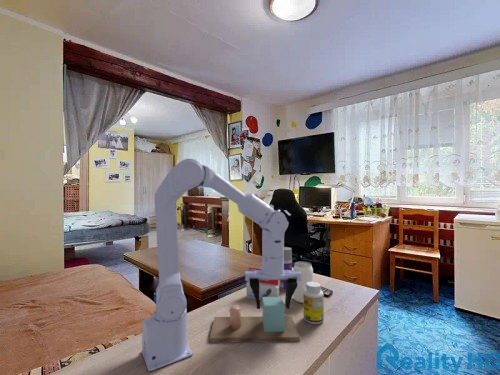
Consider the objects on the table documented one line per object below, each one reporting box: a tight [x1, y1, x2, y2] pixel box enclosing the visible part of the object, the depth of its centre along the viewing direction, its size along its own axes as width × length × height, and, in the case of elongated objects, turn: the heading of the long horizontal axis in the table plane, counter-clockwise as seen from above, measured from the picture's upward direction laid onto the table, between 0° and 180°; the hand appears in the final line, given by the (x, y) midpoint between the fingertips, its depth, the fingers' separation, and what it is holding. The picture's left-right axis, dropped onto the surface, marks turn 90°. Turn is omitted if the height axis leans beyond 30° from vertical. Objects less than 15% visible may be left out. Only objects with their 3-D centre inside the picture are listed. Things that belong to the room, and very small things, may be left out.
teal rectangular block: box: [261, 296, 285, 332], centre depth 66 cm, size 5×5×7 cm
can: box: [292, 260, 314, 304], centre depth 84 cm, size 6×6×12 cm
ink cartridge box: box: [245, 267, 280, 301], centre depth 85 cm, size 2×11×10 cm, turn 67°
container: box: [278, 246, 293, 292], centre depth 93 cm, size 5×5×15 cm
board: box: [209, 315, 301, 343], centre depth 66 cm, size 22×10×1 cm, turn 91°
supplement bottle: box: [303, 281, 325, 325], centre depth 71 cm, size 6×6×10 cm
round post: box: [229, 304, 242, 330], centre depth 66 cm, size 3×3×5 cm
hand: (272, 307), depth 66 cm, fingers open, 7 cm apart
